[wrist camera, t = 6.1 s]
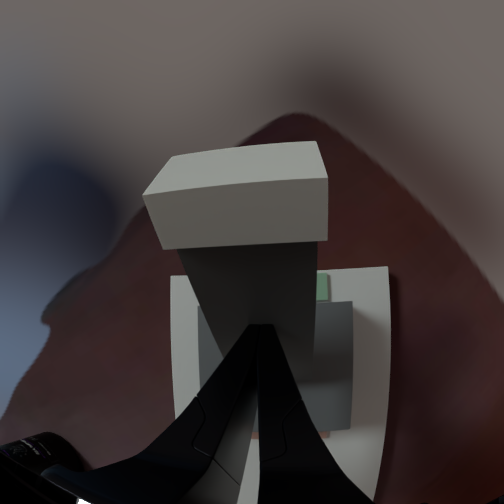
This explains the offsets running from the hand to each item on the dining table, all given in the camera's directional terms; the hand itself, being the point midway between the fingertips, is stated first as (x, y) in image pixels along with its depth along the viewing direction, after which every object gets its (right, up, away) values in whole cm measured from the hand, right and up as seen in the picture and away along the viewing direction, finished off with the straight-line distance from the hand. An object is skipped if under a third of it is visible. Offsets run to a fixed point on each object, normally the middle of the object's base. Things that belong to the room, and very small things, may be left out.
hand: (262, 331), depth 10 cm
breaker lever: (+1, -3, +3) cm, 4 cm away
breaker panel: (+1, -8, +7) cm, 11 cm away
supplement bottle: (-20, -19, +9) cm, 29 cm away
